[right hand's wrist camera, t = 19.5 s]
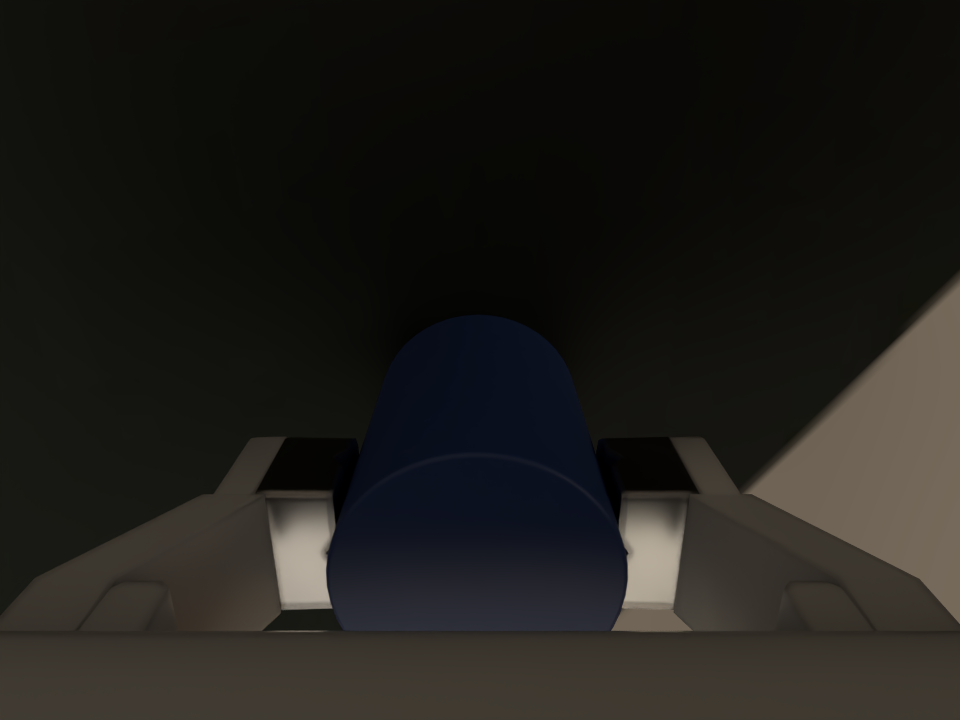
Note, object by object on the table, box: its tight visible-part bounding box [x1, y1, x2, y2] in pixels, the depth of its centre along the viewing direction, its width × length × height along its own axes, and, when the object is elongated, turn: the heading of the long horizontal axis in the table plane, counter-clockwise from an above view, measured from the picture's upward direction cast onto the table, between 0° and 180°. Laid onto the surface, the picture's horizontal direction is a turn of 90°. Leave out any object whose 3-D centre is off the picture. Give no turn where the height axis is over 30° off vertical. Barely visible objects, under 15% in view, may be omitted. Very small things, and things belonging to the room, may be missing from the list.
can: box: [326, 315, 628, 631], centre depth 10 cm, size 4×4×5 cm
